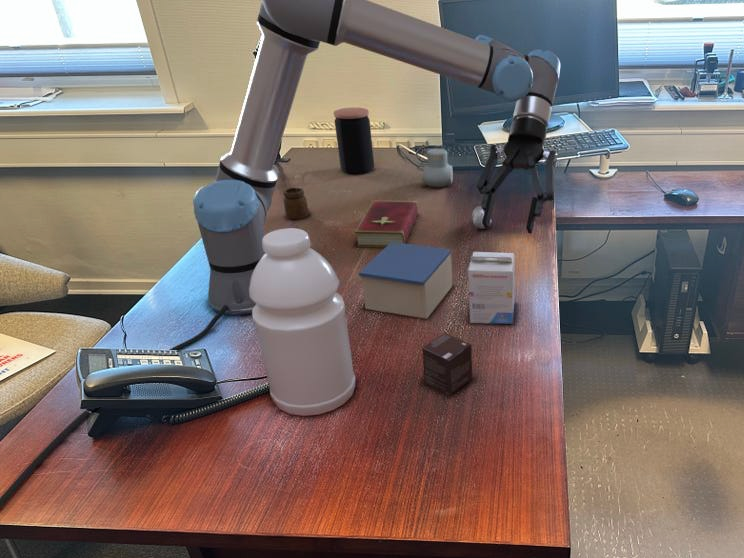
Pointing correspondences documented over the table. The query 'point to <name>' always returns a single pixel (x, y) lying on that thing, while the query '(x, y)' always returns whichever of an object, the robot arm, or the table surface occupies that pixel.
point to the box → (447, 363)
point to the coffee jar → (354, 140)
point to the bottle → (301, 326)
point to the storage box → (408, 293)
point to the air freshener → (437, 169)
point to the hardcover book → (386, 223)
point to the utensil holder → (295, 202)
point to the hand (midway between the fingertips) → (506, 227)
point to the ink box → (491, 287)
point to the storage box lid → (405, 263)
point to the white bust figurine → (479, 217)
